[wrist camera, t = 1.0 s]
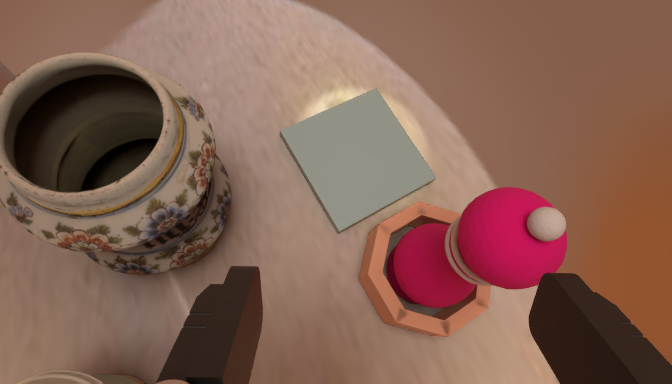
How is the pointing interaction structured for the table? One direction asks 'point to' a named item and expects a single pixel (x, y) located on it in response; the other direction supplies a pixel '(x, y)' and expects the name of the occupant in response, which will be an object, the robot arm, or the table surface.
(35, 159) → the apothecary jar
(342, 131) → the board
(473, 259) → the pepper mill
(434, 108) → the table surface
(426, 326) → the holder ring
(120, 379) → the coffee cup
